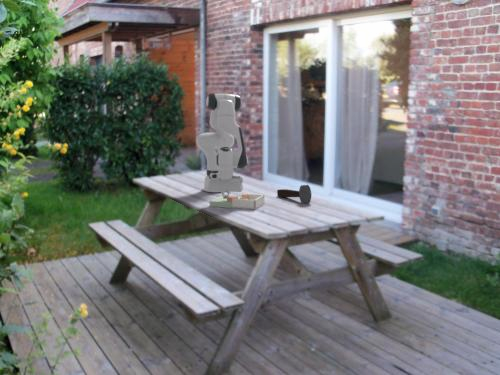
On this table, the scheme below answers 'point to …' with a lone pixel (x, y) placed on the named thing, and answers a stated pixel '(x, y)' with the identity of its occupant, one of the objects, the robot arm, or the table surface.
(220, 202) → the board
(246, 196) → the tile
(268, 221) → the table surface
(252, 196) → the tray
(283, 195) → the hammer
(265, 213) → the table surface
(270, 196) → the table surface
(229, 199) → the tile
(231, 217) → the table surface
